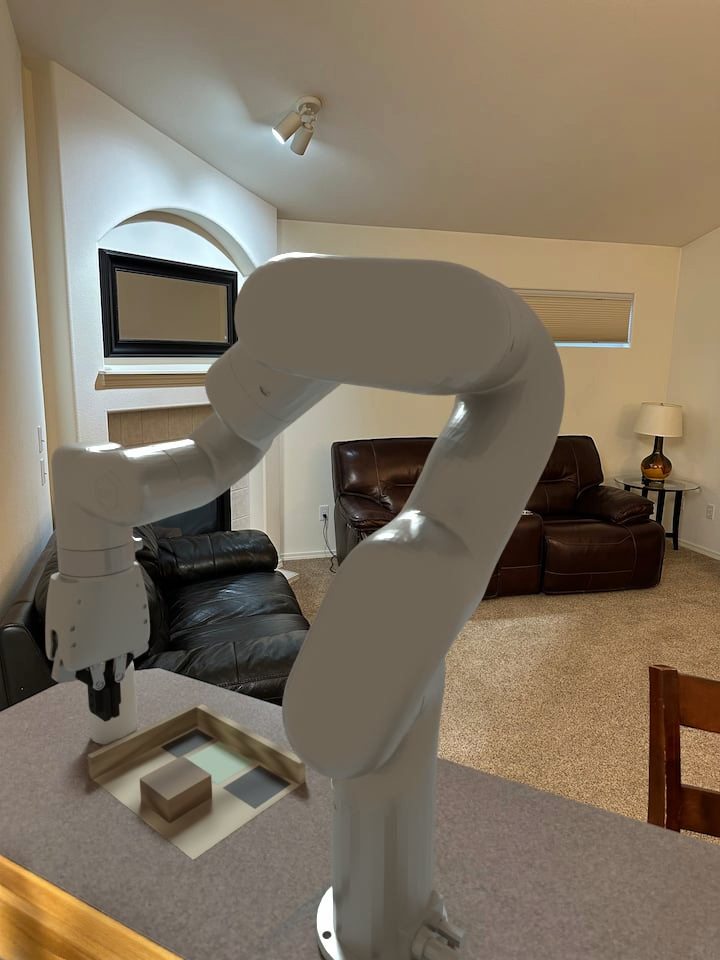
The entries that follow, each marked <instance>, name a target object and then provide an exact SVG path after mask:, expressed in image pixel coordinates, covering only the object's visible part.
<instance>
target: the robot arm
mask: <svg viewBox="0 0 720 960" xmlns="http://www.w3.org/2000/svg"><path fill="white" fill-rule="evenodd" d="M233 319H234V320H233V321H234V329H235V332H236V336H237V338H238V340H237V341H236V342H235V343H234V344H233V345H231V347H229V348H228V349H227V350H226V351H225V352H224V353H223V354H222V355H221V356H220V357H219V358H217V359H216V360H215V361H214V362H213V363H212V364H211V366H209V368H208V370H207V372H206V373H205V377H204V389H205V393H206V397H207V399H208V401H209V403H210V406H211V407H212V409H213V413H211V415H210V416H208V418H207V419H206V420H205V421H204V422H202V423H201V424H200V425H198V426H197V428H196V429H194V430H193V431H191V432H190V433H189V434H187V435H186V436H185V437H183V438H182V439H180V440H176V441H168V442H163V443H155V444H150V445H144V446H139V447H131V448H127V449H126V448H125V447H124V446H123V445H121V444H119V443H116V442H111V441H99V440H98V441H96V440H95V441H78V442H77V441H76V442H69V443H65V444H62V445H60V446H58V447H57V448H56V449H55V450H54V451H53V453H52V455H51V461H50V462H51V476H52V477H51V479H52V491H53V492H52V493H53V505H54V506H53V507H54V508H53V509H54V520H55V522H54V523H55V535H56V536H55V537H56V548H57V549H56V551H57V563H58V566H57V567H58V572H55V573H52V574H51V575H50V578H49V582H48V583H49V584H48V590H47V597H46V604H45V605H46V606H45V607H46V608H45V627H44V628H45V629H44V630H45V631H44V633H45V653H46V656H47V658H48V660H50V661H52V662H53V664H52V665H53V666H52V671H51V678H52V680H54V681H55V682H57V683H58V684H65V683H72V682H75V681H80V682H81V683H83V684H85V685H86V684H87V685H88V700H87V703H88V702H89V709H90V711H91V713H93V714H94V715H96V716H98V717H99V718H100V719H102V720H103V721H105V722H106V721H109V720H110V719H111V718H112V717H114V718H115V717H118V716H119V715H120V711H119V704H120V703H121V688H120V682H121V681H122V680H123V679H124V677H125V671H126V669H127V668H128V666H129V665H130V663H131V662H132V661H133V660H134V659H136V658H138V657H140V656H141V655H143V654H144V653H146V652H147V651H148V650H149V649H150V648H149V643H148V642H149V640H150V635H151V623H150V619H151V618H150V610H149V603H148V602H149V601H148V595H147V590H146V586H145V581H144V576H143V574H142V571H141V568H140V567H141V566H140V565H139V563H138V562H137V561H135V560H136V552H138V551H140V550H142V549H143V548H144V543H143V539H142V538H141V537H136V538H135V537H134V531H133V530H134V529H133V528H135V527H136V528H137V527H141V526H145V525H148V524H152V523H155V522H158V521H161V520H163V519H167V518H169V517H171V516H175V515H178V514H179V515H180V514H182V513H185V512H188V511H192V510H195V509H199V508H201V507H203V506H206V505H207V504H209V503H211V502H212V501H214V500H216V498H218V497H220V496H221V495H223V494H224V493H225V492H227V491H228V490H229V489H231V487H233V486H234V485H235V484H237V483H238V482H239V481H241V479H243V478H244V477H246V476H247V475H248V474H249V473H251V472H252V471H253V469H254V468H256V467H257V466H258V465H259V464H260V462H262V460H263V459H264V457H265V456H266V454H267V452H268V451H269V450H270V449H271V447H272V444H273V443H274V442H273V441H274V440H275V438H276V437H278V436H279V435H280V434H281V433H282V432H284V431H285V430H286V429H287V428H288V427H289V426H292V424H293V423H295V422H296V421H297V420H298V419H300V418H301V417H302V416H303V415H305V414H306V413H307V412H308V411H310V410H311V409H312V408H313V407H314V406H316V404H319V402H320V401H322V400H323V399H324V398H325V397H328V395H329V394H331V393H332V392H334V391H335V390H336V389H337V388H338V387H340V386H341V385H342V384H344V385H350V386H358V387H366V388H372V389H381V390H385V391H386V390H387V391H393V392H400V393H406V394H407V393H408V394H414V395H422V396H441V397H442V396H445V397H446V396H448V397H449V396H454V395H455V399H454V403H453V404H454V405H453V408H452V411H451V413H450V416H449V417H448V419H447V421H446V423H445V424H444V426H443V428H442V430H441V432H440V433H439V435H438V437H437V438H436V440H435V442H434V443H433V445H432V447H431V450H430V452H429V453H428V456H427V458H426V461H425V463H424V465H423V468H422V471H421V472H420V475H419V477H418V479H417V481H416V483H415V484H414V487H413V489H412V491H411V493H410V495H409V497H408V499H407V501H406V503H405V504H404V505H403V507H402V508H401V511H400V512H399V513H398V514H397V516H396V517H394V519H392V520H391V521H390V522H389V523H387V524H385V525H384V526H383V527H381V528H379V529H377V530H375V531H374V532H373V533H372V534H369V535H368V536H367V537H366V538H364V539H363V540H361V541H360V542H359V543H358V544H357V545H355V547H354V548H352V549H351V551H350V552H349V553H348V554H347V556H345V558H344V559H343V560H342V562H341V564H340V565H339V567H338V568H337V570H336V572H335V573H334V575H333V577H332V579H331V580H330V582H329V584H328V586H327V589H326V591H325V593H324V595H323V597H322V600H321V602H320V604H319V607H318V609H317V611H316V613H315V614H314V615H315V616H314V618H313V620H312V623H311V625H310V626H309V628H308V629H309V630H308V631H307V633H306V636H305V638H304V640H303V642H302V645H301V647H300V649H299V652H298V654H297V656H296V659H295V660H294V662H293V664H292V667H291V670H290V673H289V675H288V678H287V681H286V683H285V687H284V691H283V696H282V705H281V707H282V708H281V709H282V710H281V713H282V714H281V715H282V722H283V728H284V732H285V735H286V737H287V738H286V739H287V741H288V742H289V746H290V747H291V749H292V750H293V753H294V754H295V755H297V757H298V758H299V759H300V760H301V761H302V762H303V763H304V764H305V767H307V768H308V769H309V770H311V771H312V772H314V773H316V774H317V775H320V776H322V777H325V778H328V779H331V780H330V781H331V782H330V783H331V788H330V790H331V793H330V794H331V795H330V796H331V798H330V799H331V802H330V803H331V804H330V805H331V886H330V887H329V888H328V889H327V890H326V891H325V893H324V894H323V896H322V898H321V899H320V903H319V905H318V907H317V910H316V916H315V917H316V918H315V935H316V940H317V941H316V942H317V945H318V947H319V949H320V952H321V954H322V956H323V957H324V959H325V960H467V958H466V957H465V956H464V955H462V954H461V953H459V952H458V951H457V950H455V949H454V948H452V947H451V946H449V945H448V943H450V944H452V945H453V946H455V948H457V949H459V950H462V949H464V947H465V945H466V943H467V939H468V933H467V932H465V930H462V929H461V928H460V927H458V925H457V926H456V925H455V924H452V923H450V921H449V915H448V914H449V913H448V911H447V908H446V907H445V904H444V903H445V902H444V894H442V893H440V892H439V891H437V890H436V889H434V879H435V877H434V874H435V873H434V868H435V831H436V828H435V826H436V789H437V777H438V776H437V773H438V750H439V749H438V747H439V736H440V735H439V734H440V732H439V731H440V726H441V725H440V724H441V717H442V711H443V710H442V709H443V702H444V694H445V688H446V687H445V685H446V675H447V674H446V672H447V671H446V668H447V667H446V665H447V664H446V657H447V655H448V654H449V652H450V650H451V648H452V646H453V644H454V643H455V641H456V639H457V637H458V636H459V634H460V633H461V631H462V630H463V628H464V627H465V625H466V624H467V622H468V621H469V620H470V619H471V617H472V616H473V614H474V613H475V611H476V610H477V608H478V607H479V605H480V603H481V602H482V599H483V597H484V596H485V593H486V590H487V588H488V585H489V583H490V580H491V577H492V575H493V573H494V571H495V568H496V565H497V564H498V562H499V560H500V557H501V555H502V553H503V551H504V550H505V548H506V545H507V544H508V542H509V541H510V538H511V536H512V535H513V532H514V530H515V528H516V526H517V524H519V523H518V522H519V521H520V519H521V517H522V516H523V513H524V511H525V508H526V506H527V505H528V502H529V500H530V498H531V496H532V494H533V492H534V490H535V488H536V486H537V485H538V483H539V480H540V479H541V476H542V475H543V473H544V470H545V468H546V466H547V464H548V461H549V460H550V457H551V455H552V453H553V450H554V447H555V444H556V442H557V440H558V436H559V432H560V431H561V430H560V429H561V425H562V422H563V421H562V420H563V415H564V408H565V396H566V393H565V392H566V388H565V387H566V386H565V374H564V370H563V364H562V360H561V356H560V354H559V351H558V347H557V346H556V344H555V342H554V339H553V338H552V336H551V334H550V332H549V331H548V329H547V327H546V325H545V324H544V323H543V321H542V320H541V318H540V316H538V315H537V313H536V312H535V311H534V310H533V308H532V307H531V306H530V305H529V304H528V303H527V302H526V300H524V299H523V297H521V296H520V295H519V294H518V293H517V292H515V291H514V290H513V289H511V288H510V287H509V286H507V285H506V284H503V283H502V282H499V281H498V280H496V279H493V278H491V277H489V276H487V275H485V274H484V273H482V272H480V271H479V270H476V269H474V268H471V267H469V266H466V265H463V264H460V263H456V262H452V261H445V260H437V259H435V260H434V259H421V258H420V259H419V258H416V259H415V258H401V257H400V258H398V257H378V256H377V257H375V256H359V255H358V256H357V255H354V256H353V255H341V254H340V255H338V254H336V255H335V254H322V253H309V252H290V253H285V254H279V255H277V256H275V257H272V258H269V259H268V260H267V261H266V260H265V262H263V263H261V264H259V266H257V267H256V268H255V269H254V270H253V271H252V272H251V273H250V274H249V275H248V277H247V278H246V279H245V280H244V282H243V284H242V286H241V289H240V290H239V292H238V295H237V298H236V301H235V305H234V317H233ZM102 662H103V668H102V667H101V663H102Z"/></svg>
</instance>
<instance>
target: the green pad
mask: <svg viewBox="0 0 720 960" xmlns="http://www.w3.org/2000/svg"><path fill="white" fill-rule="evenodd" d="M187 759H188V760H190V761H191V762H193V763H194V764H196V765H197V766H199V767H200V768H202V769H203V770H205V771H206V772H208V773H209V774H211V779H212V781H213V782H215V783H216V784H220V783H221V782H223V781H225V780H226V779H228V778H229V777H231V776H233V775H234V774H236V773H238V772H239V771H241V770H242V769H244V768H246V767H247V766H249V765H251V764H252V763H254V762H253V761H252V760H250V759H248V758H246V757H245V756H243V755H241V754H240V753H238V752H236V751H235V750H233V749H231V748H229V747H228V746H226V745H224V744H223V743H221V742H219V741H218V742H216V743H214V744H213V745H211V746H209V747H207V748H205V749H204V750H202V751H200V752H198V753H196V754H194V755H193V756H191V757H189V758H187Z"/></svg>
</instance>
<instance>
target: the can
mask: <svg viewBox="0 0 720 960" xmlns="http://www.w3.org/2000/svg"><path fill="white" fill-rule="evenodd" d="M101 667H102V668H103V662H102V663H101ZM85 686H86V698H87V708H88V709H87V711H88V722H89V733H90V738H91V740H92V741H93V742H95V743H96V744H98V745H101V746H107V745H109V744H111V742H112V743H113V742H115V741H117V739H118V740H120V739H122V738H124V737H126V736H128V735H130V734H132V733H134V732H136V731H138V729H139V728H138V708H137V693H136V692H137V691H136V679H135V666H134V661H133V660H132V662H131V663H130V665H129V666H128V668H127V669H126V671H125V677H124V679H123V680H122V681H121V682H120V688H121V703H120V704H119V711H120V715H119V716H118V717H115V718H114V717H112V718H111V719H110V720H109V721H106V722H105V721H103V720H102V719H100V718H99V717H98V716H96V715H94V714H93V713H91V711H90V709H89V702H88V685H87V684H85Z"/></svg>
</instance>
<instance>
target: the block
mask: <svg viewBox="0 0 720 960" xmlns="http://www.w3.org/2000/svg"><path fill="white" fill-rule="evenodd" d="M140 794H141V801H142V802H143V803H144V804H145V805H147V806H148V807H149V808H151V809H152V810H153V811H154V812H156V813H157V814H158V815H159V816H161V817H162V818H163V819H164V820H166V821H167V822H168V823H169V824H170V823H171V822H173V821H174V820H176V819H178V818H179V817H181V816H183V815H184V814H186V813H187V812H189V811H191V810H192V809H194V808H195V807H197V806H199V805H200V804H202V803H204V802H205V801H207V800H208V799H210V798H212V779H211V774H209V773H208V772H206V771H205V770H203V769H202V768H200V767H199V766H197V765H196V764H194V763H193V762H191V761H190V760H188V759H187V758H185V757H184V756H181V757H179V758H177V759H175V760H173V761H171V762H169V763H168V764H166V765H164V766H162V767H160V768H158V769H156V770H154V771H153V772H151V773H149V774H147V775H145V776H143V777H141V778H140Z"/></svg>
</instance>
